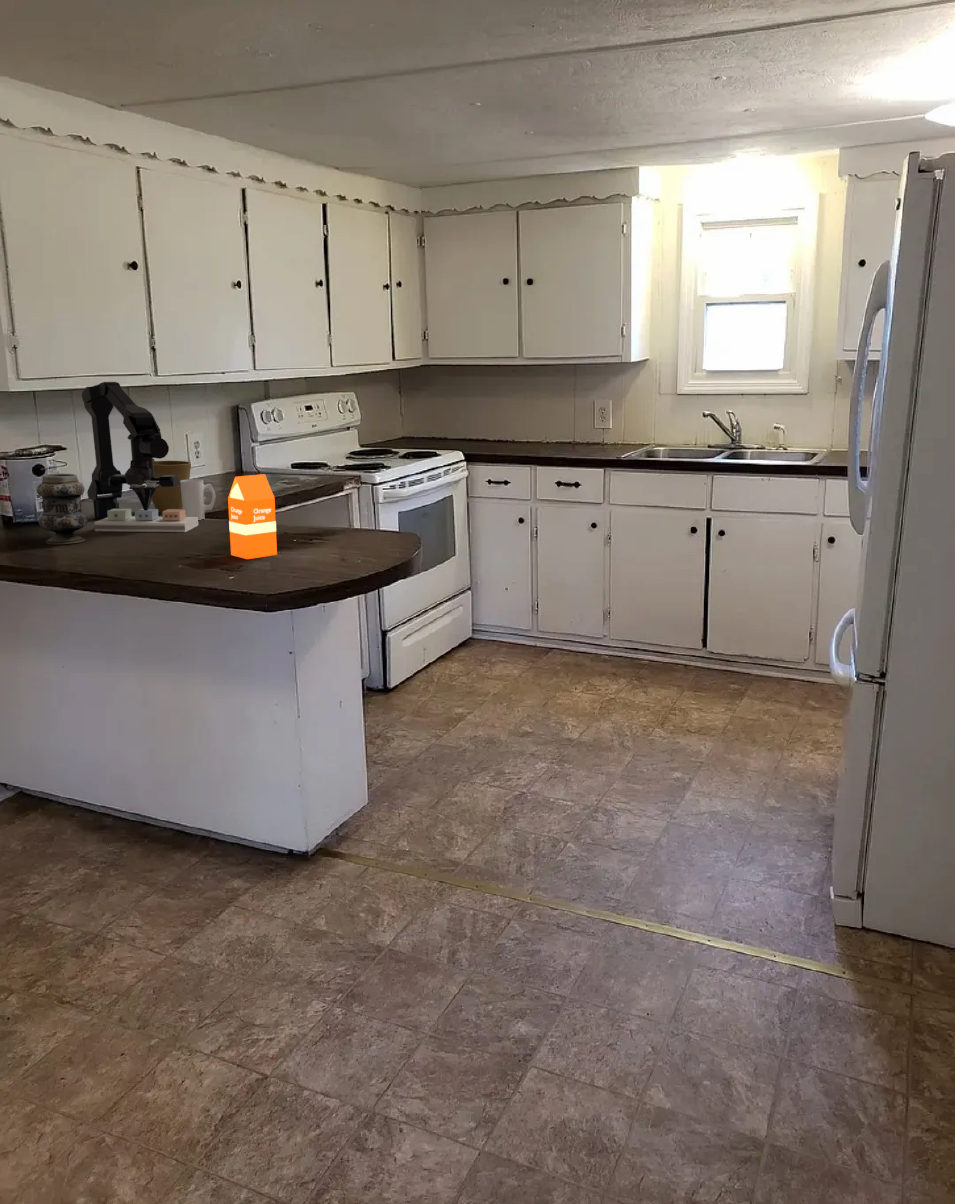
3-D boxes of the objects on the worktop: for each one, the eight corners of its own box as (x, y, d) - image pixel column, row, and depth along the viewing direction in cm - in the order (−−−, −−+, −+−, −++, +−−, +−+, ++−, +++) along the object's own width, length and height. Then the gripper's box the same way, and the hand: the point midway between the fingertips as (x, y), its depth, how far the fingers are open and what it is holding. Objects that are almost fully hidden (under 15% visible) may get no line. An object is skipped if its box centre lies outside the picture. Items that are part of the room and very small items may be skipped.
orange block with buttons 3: (162, 520, 282) (161, 511, 281) (168, 517, 287) (168, 509, 286) (179, 520, 281) (179, 512, 281) (185, 517, 287) (185, 509, 286)
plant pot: (156, 517, 305) (152, 465, 301) (138, 511, 316) (134, 461, 313) (201, 512, 314) (198, 462, 311) (182, 507, 326) (179, 459, 322)
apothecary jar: (98, 539, 267) (93, 473, 263) (69, 546, 256) (63, 477, 252) (61, 536, 270) (54, 471, 266) (30, 544, 259) (23, 476, 255)
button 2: (134, 520, 282) (134, 511, 281) (141, 517, 287) (141, 508, 286) (152, 520, 282) (151, 511, 281) (158, 517, 287) (157, 509, 286)
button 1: (107, 519, 282) (106, 511, 281) (114, 517, 287) (114, 508, 287) (124, 520, 282) (123, 511, 281) (131, 517, 287) (130, 508, 286)
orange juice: (230, 554, 247) (226, 475, 242) (260, 550, 253) (257, 472, 248) (247, 559, 241) (243, 478, 237) (277, 554, 247) (274, 475, 243)
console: (94, 531, 279) (93, 522, 279) (111, 524, 291) (111, 515, 291) (184, 532, 279) (184, 523, 278) (198, 525, 291) (197, 516, 290)
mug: (182, 521, 297) (180, 482, 294) (182, 518, 303) (180, 479, 300) (217, 520, 300) (214, 481, 297) (216, 517, 306) (214, 478, 303)
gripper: (98, 458, 273) (103, 514, 276) (164, 459, 272) (168, 515, 276) (114, 454, 283) (118, 508, 287) (178, 455, 283) (181, 509, 287)
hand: (146, 510), depth 284 cm, fingers closed, pressing on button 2
